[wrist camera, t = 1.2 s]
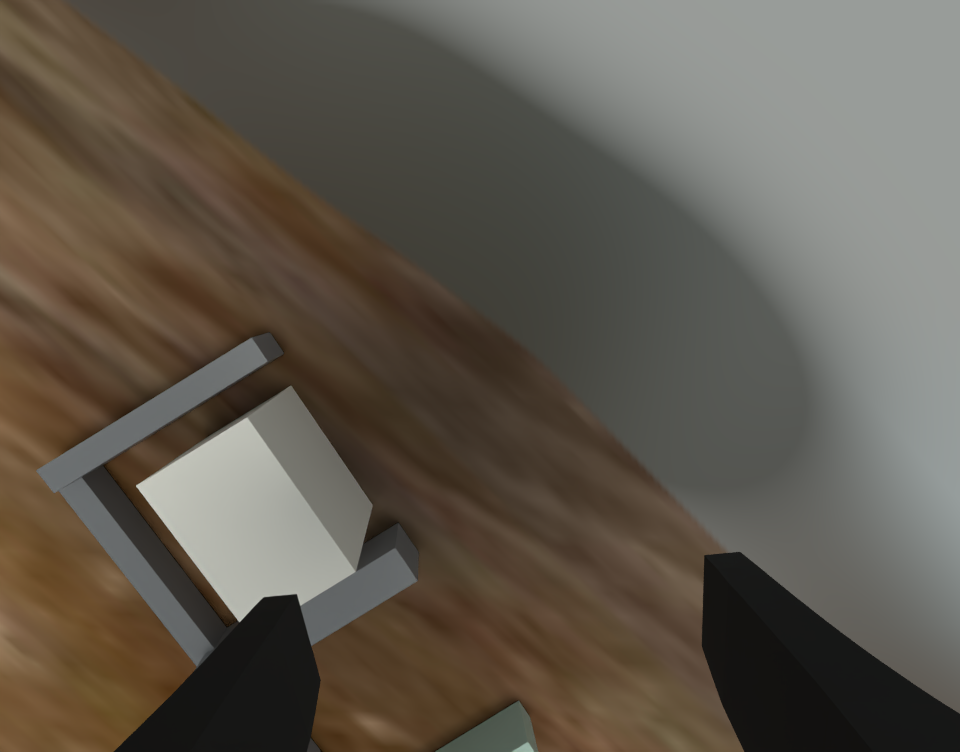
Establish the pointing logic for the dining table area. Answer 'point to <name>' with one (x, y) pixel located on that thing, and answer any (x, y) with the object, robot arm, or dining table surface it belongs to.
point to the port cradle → (167, 589)
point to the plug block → (264, 506)
